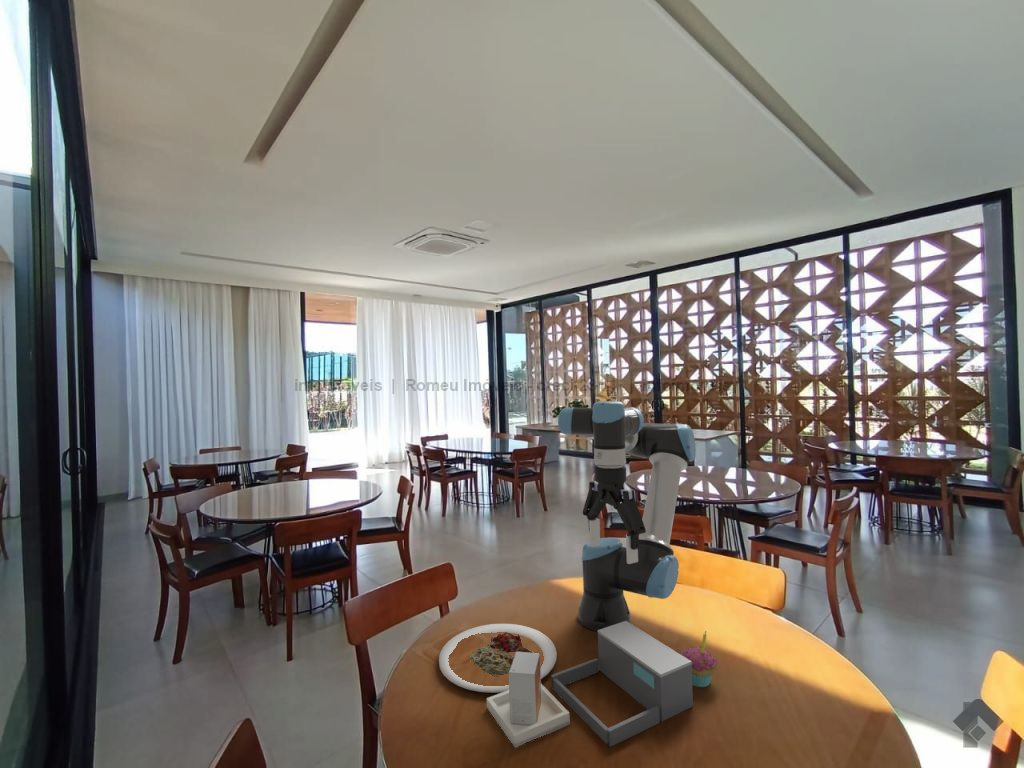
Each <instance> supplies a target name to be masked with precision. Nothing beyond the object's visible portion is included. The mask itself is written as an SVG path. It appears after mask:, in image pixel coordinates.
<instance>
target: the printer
mask: <svg viewBox="0 0 1024 768" xmlns="http://www.w3.org/2000/svg"><path fill="white" fill-rule="evenodd" d="M597 649H598V653H597V654H598V658H597V657H596V658H594V659H591V660H588V661H585V662H582V663H579V664H577V665H575V666H572V667H570V668H567V669H564V670H562V671H559V672H556V673H553V674H551V675H550V676H551V677H550V679H551V689H552V688H553V689H554V690H555V691H556V692H557V693H558V694H559V695H560V696H561V697H562V698H561V697H560V696H559V695H558V694H557V693H556V692H555V691H554V690H553V689H552V690H553V691H554V692H555V693H556V694H557V695H558V696H559V697H560V698H561V699H562V700H563V702H564V703H566V704H567V705H568V707H569V708H570V709H571V710H573V712H574V713H576V715H577V716H578V717H579V718H580V719H581V720H582V721H583V722H584V723H585V722H586V723H587V724H588V725H589V726H590V727H591V728H590V727H589V728H590V729H591V731H594V733H595V734H596V735H597V736H598V737H599V738H600V739H601V740H602V741H603V742H604V743H605V744H606V745H607V746H608V747H609V748H611V747H613V746H615V745H617V744H619V743H622V742H623V741H625V740H627V739H630V738H631V737H635V736H636V735H638V734H640V733H642V732H644V731H646V730H648V729H650V728H652V727H654V726H657V724H660V723H661V722H664V721H666V720H668V719H670V718H672V717H674V716H676V715H679V714H680V713H682V712H684V711H686V710H688V709H690V708H693V707H694V699H693V698H694V697H693V694H694V693H693V685H692V661H690V660H688V659H687V658H685V657H684V656H682V655H680V654H679V653H680V652H676V651H675V650H674V649H672V648H671V647H669V646H668V645H665V644H664V643H663V642H661V641H660V640H658V639H656V638H655V637H653V636H651V635H650V634H648V633H646V631H643V630H642V629H640V628H638V627H637V626H635V625H634V624H632V623H631V622H630V623H629V622H627V621H624V622H621V623H618V624H615V625H612V626H609V627H606V628H603V629H600V630H598V631H597ZM599 671H600V672H601V673H602V674H604V675H605V676H606V677H607V678H608V679H609V680H611V681H612V682H613V683H615V684H616V685H617V686H619V687H618V688H621V689H622V690H623V691H624V692H625V693H627V694H628V695H629V696H631V697H632V699H634V700H635V701H636V702H638V703H639V704H640V705H641V706H643V707H644V708H645V709H646V710H644V711H642V712H640V713H638V714H636V715H633V716H631V717H629V718H627V719H625V720H623V721H621V722H618V723H616V724H615V725H612V726H609V727H607V725H606V724H604V723H603V721H601V719H599V718H598V717H597V716H596V715H595V714H594V713H593V712H592V711H591V710H590V709H589V708H588V707H587V706H586V705H585V704H584V703H582V701H581V700H580V699H578V698H577V697H576V695H574V694H573V693H572V692H571V691H570V690H569V689H568V688H567V687H566V686H567V685H566V684H568V683H570V682H573V681H575V682H577V681H576V680H578V679H580V680H582V679H581V678H583V679H585V678H584V677H586V678H587V676H588V677H590V676H589V675H591V676H593V675H595V673H596V674H597V672H598V673H600V672H599ZM592 674H593V675H592ZM578 681H579V680H578ZM573 683H574V682H573ZM570 684H571V683H570ZM564 685H565V686H564ZM568 685H569V684H568ZM586 723H585V724H586ZM587 724H586V725H587ZM588 725H587V726H588Z"/></svg>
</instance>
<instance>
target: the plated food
mask: <svg viewBox="0 0 1024 768" xmlns="http://www.w3.org/2000/svg"><path fill="white" fill-rule="evenodd" d="M491 632H492V633H497V632H504V634H502V635H501V634H498V635H497V636H496V637H494V636H492V637H491V642H492V643H491V644H490V646H489V645H486V646H487V647H485V646H484V647H481V648H477V649H478V651H476V653H475V654H472V653H470V654H471V655H470V657H469V658H470V659H471V658H472V659H473V662H474V665H475V666H477V665H478V666H479V667H481V668H482V669H481V670H483V671H484V672H483V673H486V672H487V673H489V674H491V675H492V676H494V677H499V676H500V675H504V674H508V673H509V670H510V668H511V665H512V662H513V659H514V656H515V655H514V656H511V655H509V654H508V653H509V652H528V653H534V652H533V651H531V650H529V649H528V648H525V647H523V646H522V645H523V644H522V643H521V639H520V636H519V635H521V636H524V637H526V638H529V639H531V640H532V641H534V642H535V643H536V644H537V645H538V646H539V647H540V648H541V650H542V652H543V656H544V661H543V664H542V666H541V668H540V669H541V680H543V678H545V677H546V676H548V675H549V673H550V672H551V671H552V670H553V669H554V667H555V665H556V662H557V649H556V646H555V644H554V643H553V641H552V640H551V639H550V638H549V637H548V636H547V635H546V634H544V633H542V632H541V631H539V630H538V629H535V628H532V627H529V626H525V625H522V624H515V623H490V624H483V625H479V626H476V627H473V628H469V629H467V630H464V631H462V632H460V633H458V634H456V635H455V636H453V637H452V638H450V640H448V641H447V642H446V643H445V645H444V646H443V647H442V648H441V651H440V653H439V655H438V656H439V657H438V665H439V666H438V667H439V669H440V671H441V673H442V675H443V676H444V677H445V678H446V679H447V680H448V681H449V682H451V683H452V684H454V685H456V686H458V687H460V688H463V689H466V690H469V691H472V692H473V691H474V692H478V693H491V694H492V693H493V694H494V693H497V694H498V693H502V692H505V691H508V690H509V685H505V686H483V685H478V684H474V683H470V682H467V681H465V680H462V678H460V677H458V675H456V674H455V673H454V672H453V670H451V668H450V666H449V662H448V661H449V659H448V658H449V655H450V654H451V653H452V652H453V650H454V649H455V648H456V646H457V644H458V642H460V641H461V640H462V639H464V638H468V637H469V636H471V635H475V634H478V633H479V634H481V633H491ZM510 633H512V634H517V635H518V636H515V635H512V634H510ZM493 637H494V638H493ZM470 662H471V660H470Z"/></svg>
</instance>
